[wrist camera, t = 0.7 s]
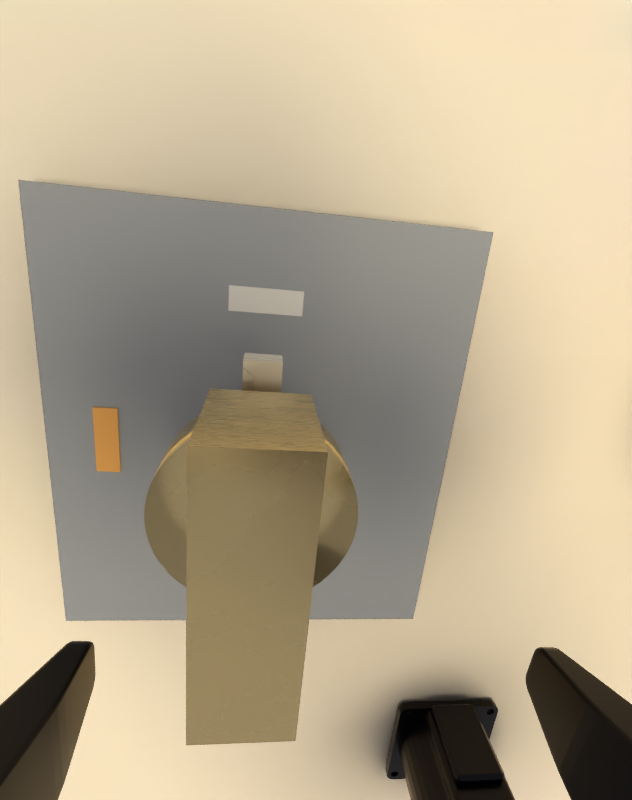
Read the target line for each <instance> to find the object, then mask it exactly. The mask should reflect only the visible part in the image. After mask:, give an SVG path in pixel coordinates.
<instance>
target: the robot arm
mask: <svg viewBox="0 0 632 800" xmlns="http://www.w3.org/2000/svg"><path fill="white" fill-rule="evenodd" d="M94 681H95V653H94V645H93V643H92V642H90V641H72V642H69V643H68V644H66V645H65V646H64V647H63V648H62V649H61V650H60V651H59V652H57V653H56V654H55V655H54V656H53V657H52V658H51V659H50V660H49V661H48V662H47V663H46V664H44V665H43V666H42V667H41V668H40V669H39V670H38V671H37V672H36V673H35V674H34V675H32V676H31V677H30V678H29V679H28V680H27V681H26V682H25V683H24V684H23V685H22V686H21V687H19V688H18V689H17V690H16V691H15V692H14V693H13V694H12V695H11V696H10V697H9V698H7V699H6V700H5V701H4V702H3V703H2V704H1V705H0V800H58V798H59V795H60V792H61V790H62V787H63V784H64V781H65V778H66V775H67V772H68V769H69V766H70V762H71V759H72V756H73V752H74V749H75V746H76V743H77V739H78V736H79V733H80V729H81V726H82V723H83V719H84V716H85V713H86V710H87V706H88V703H89V700H90V696H91V693H92V690H93V686H94ZM526 685H527V689H528V692H529V695H530V697H531V700H532V703H533V705H534V708H535V711H536V713H537V716H538V719H539V721H540V724H541V727H542V730H543V732H544V735H545V738H546V740H547V743H548V746H549V748H550V751H551V754H552V756H553V759H554V761H555V764H556V766H557V769H558V771H559V774H560V776H561V778H562V780H563V783H564V785H565V787H566V789H567V791H568V793H569V796H570V798H571V800H632V704H630V703H629V702H628V701H626V700H625V699H624V698H622V697H621V696H620V695H618V694H617V693H616V692H615V691H613V690H612V689H611V688H609V687H608V686H607V685H605V684H604V683H603V682H601V681H600V680H599V679H597V678H596V677H595V676H593V675H592V674H591V673H589V672H588V671H587V670H585V669H584V668H583V667H582V666H580V665H579V664H578V663H576V662H575V661H574V660H572V659H571V658H570V657H568V656H567V655H566V654H564V653H563V652H562V651H560V650H559V649H557V648H553V647H539V648H537V649H536V650H535V652H534V654H533V657H532V660H531V662H530V665H529V668H528V671H527V674H526ZM497 712H498V709H497V707H496V705H495V703H494V702H493V701H491V700H481V701H448V702H414V703H404V704H402V705H400V706H399V708H398V712H397V717H396V722H395V726H394V731H393V736H392V741H391V745H390V750H389V755H388V759H387V764H386V772H387V777H388V778H390V779H405V778H406V782H407V786H408V790H409V794H410V798H411V800H515V799H514V796H513V794H512V792H511V790H510V787H509V785H508V783H507V781H506V778H505V776H504V772H503V770H502V768H501V765H500V763H499V761H498V759H497V756H496V754H495V752H494V750H493V747H492V745H491V743H490V741H489V738H490V735H491V732H492V729H493V725H494V722H495V719H496V716H497Z"/></svg>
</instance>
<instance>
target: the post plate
mask: <svg viewBox="0 0 632 800" xmlns="http://www.w3.org/2000/svg"><path fill="white" fill-rule="evenodd" d="M18 181H19V190H20V199H21V209H22V218H23V227H24V236H25V246H26V255H27V264H28V273H29V283H30V292H31V301H32V310H33V320H34V329H35V338H36V347H37V357H38V366H39V375H40V384H41V394H42V403H43V412H44V421H45V431H46V440H47V449H48V458H49V468H50V477H51V486H52V495H53V505H54V514H55V523H56V532H57V542H58V551H59V560H60V569H61V579H62V588H63V597H64V606H65V616H66V621H90V620H186V591H187V588H186V587H185V586H183V585H182V584H181V583H179V582H178V581H177V580H175V579H174V578H173V577H172V576H171V575H170V574H169V573H168V572H167V571H166V570H165V569H164V567H163V566H162V565H161V564H160V563H159V561H158V559H157V558H156V556H155V555H154V553H153V551H152V549H151V546H150V544H149V542H148V538H147V534H146V531H145V522H144V509H145V502H146V497H147V493H148V490H149V487H150V485H151V482H152V480H153V478H154V476H155V474H156V472H157V470H158V468H159V466H160V464H161V462H162V460H163V458H164V456H165V454H166V452H167V450H168V448H169V446H170V444H171V443H172V441H173V440H174V438H175V437H176V436H177V434H178V433H179V432H180V431H181V430H182V429H183V428H184V427H185V426H186V425H187V424H188V423H189V422H190V421H192V420H193V419H194V418H196V417H197V416H198V415H200V413H201V410H202V408H203V405H204V403H205V400H206V398H207V395H208V393H209V390H210V389H227V390H242V377H243V359H244V354H245V353H258V354H273V355H282V359H283V370H282V384H281V393H295V394H311V395H312V398H313V402H314V405H315V409H316V412H317V416H318V419H319V422H320V423H321V424H322V425H323V426H324V427H325V428H326V429H327V430H328V431H329V432H330V433H331V435H332V436H333V437H334V439H335V440H336V442H337V444H338V445H339V447H340V449H341V452H342V454H343V457H344V459H345V462H346V465H347V468H348V471H349V473H350V476H351V479H352V482H353V485H354V487H355V491H356V496H357V500H358V524H357V528H356V533H355V536H354V539H353V541H352V544H351V546H350V548H349V550H348V552H347V554H346V556H345V557H344V558H343V560H342V561H341V562H340V564H339V565H338V566H337V567H336V568H335V569H334V571H333V572H332V573H331V574H330V575H328V576H327V577H326V578H325V579H324V580H323V581H321V582H320V583H318V584H317V585H315V586H314V587H313V589H312V598H311V607H310V616H309V619H413V616H414V611H415V607H416V602H417V597H418V592H419V587H420V583H421V578H422V573H423V568H424V563H425V559H426V554H427V549H428V544H429V539H430V535H431V530H432V525H433V520H434V515H435V511H436V506H437V501H438V496H439V491H440V486H441V482H442V477H443V472H444V467H445V462H446V458H447V453H448V448H449V443H450V438H451V434H452V429H453V424H454V419H455V414H456V410H457V405H458V400H459V395H460V390H461V386H462V381H463V376H464V371H465V366H466V361H467V357H468V352H469V347H470V342H471V337H472V333H473V328H474V323H475V318H476V313H477V309H478V304H479V299H480V294H481V289H482V285H483V280H484V275H485V270H486V265H487V260H488V256H489V251H490V246H491V241H492V236H493V232H486V231H477V230H468V229H459V228H450V227H440V226H431V225H422V224H413V223H404V222H395V221H386V220H377V219H368V218H359V217H350V216H341V215H332V214H323V213H314V212H305V211H296V210H287V209H278V208H269V207H260V206H250V205H241V204H232V203H223V202H214V201H205V200H196V199H187V198H178V197H169V196H160V195H151V194H142V193H133V192H124V191H115V190H106V189H97V188H88V187H79V186H70V185H60V184H51V183H42V182H33V181H24V180H18Z"/></svg>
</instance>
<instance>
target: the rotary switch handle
mask: <svg viewBox="0 0 632 800" xmlns="http://www.w3.org/2000/svg"><path fill="white" fill-rule="evenodd" d="M282 370H283V359H282V355H273V354H258V353H245V354H244V359H243V377H242V390H227V389H210V390H209V393H208V395H207V398H206V400H205V403H204V405H203V408H202V410H201V413H200V415H198V416H197V417H196V418H194V419H193V420H192V421H190V422H189V423H188V424H187V425H186V426H185V427H184V428H183V429H182V430H181V431H180V432H179V433H178V434H177V436H176V437H175V438H174V440H173V441H172V443H171V444H170V446H169V448H168V450H167V452H166V454H165V456H164V458H163V460H162V462H161V464H160V466H159V468H158V470H157V472H156V474H155V476H154V478H153V480H152V482H151V485H150V487H149V490H148V493H147V497H146V502H145V509H144V522H145V531H146V534H147V538H148V542H149V544H150V546H151V549H152V551H153V553H154V555H155V556H156V558H157V559H158V561H159V563H160V564H161V565H162V566H163V567H164V569H165V570H166V571H167V572H168V573H169V574H170V575H171V576H172V577H173V578H174V579H175V580H177V581H178V582H179V583H181V584H182V585H183V586H185V587H186V588H187V591H186V745H205V744H230V743H255V742H280V741H295V739H296V730H297V722H298V713H299V704H300V695H301V686H302V678H303V669H304V660H305V651H306V642H307V633H308V625H309V616H310V607H311V598H312V589H313V587H314V586H315V585H317V584H318V583H320V582H321V581H323V580H324V579H325V578H326V577H327V576H328V575H330V574H331V573H332V572H333V571H334V569H335V568H336V567H337V566H338V565H339V564H340V562H341V561H342V560H343V558H344V557H345V556H346V554H347V552H348V550H349V548H350V546H351V544H352V541H353V539H354V536H355V533H356V528H357V524H358V500H357V496H356V491H355V487H354V485H353V482H352V479H351V476H350V473H349V471H348V468H347V465H346V462H345V459H344V457H343V454H342V452H341V449H340V447H339V445H338V444H337V442H336V440H335V439H334V437H333V436H332V435H331V433H330V432H329V431H328V430H327V429H326V428H325V427H324V426H323V425H322V424H321V423H320V422H319V419H318V416H317V412H316V409H315V405H314V402H313V398H312V395H311V394H295V393H281V384H282Z"/></svg>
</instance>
